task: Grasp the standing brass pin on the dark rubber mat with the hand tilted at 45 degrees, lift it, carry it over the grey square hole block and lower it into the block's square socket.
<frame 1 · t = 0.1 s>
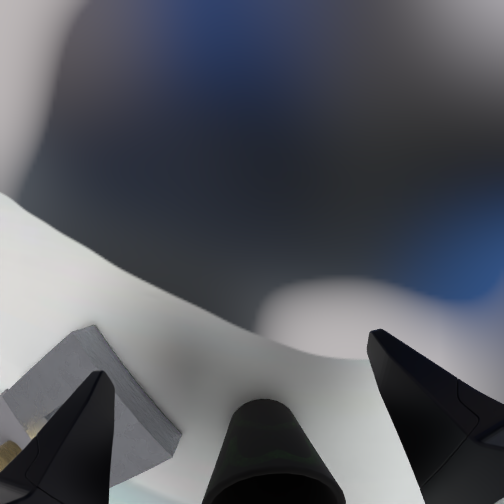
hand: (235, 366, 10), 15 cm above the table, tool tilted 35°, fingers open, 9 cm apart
cup: (262, 426, 24), on the table
pin: (15, 452, 22), resting on mat
mat: (22, 458, 22), on the table
grey square hole block: (93, 412, 23), on the table
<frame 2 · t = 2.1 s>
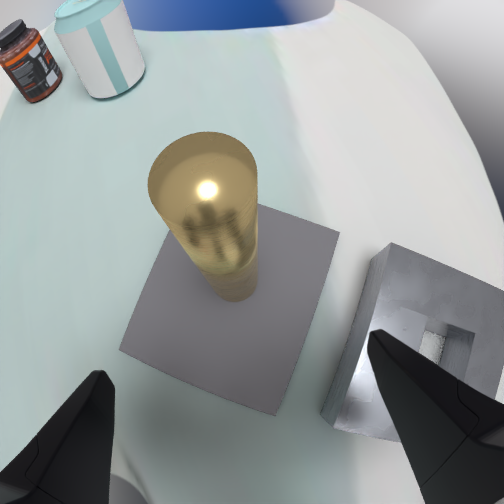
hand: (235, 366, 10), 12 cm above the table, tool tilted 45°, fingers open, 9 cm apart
can: (117, 81, 30), on the table
pin: (234, 279, 22), resting on mat
mat: (229, 293, 22), on the table
grey square hole block: (417, 357, 21), on the table
supplement bottle: (45, 88, 30), on the table
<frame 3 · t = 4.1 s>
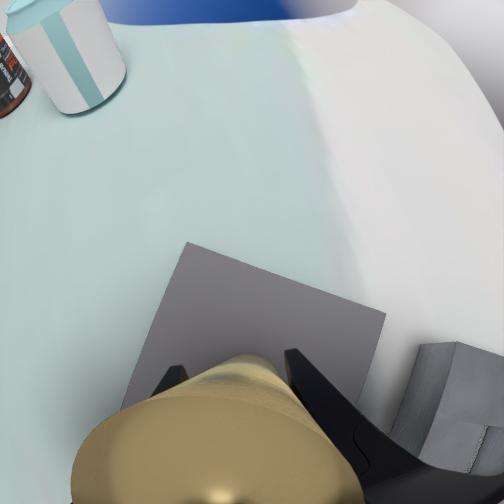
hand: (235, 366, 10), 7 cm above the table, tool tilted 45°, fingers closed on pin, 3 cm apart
can: (92, 90, 23), on the table
pin: (248, 382, 16), resting on mat, touching gripper
mat: (241, 398, 16), on the table
grey square hole block: (458, 449, 14), on the table
supplement bottle: (13, 99, 24), on the table
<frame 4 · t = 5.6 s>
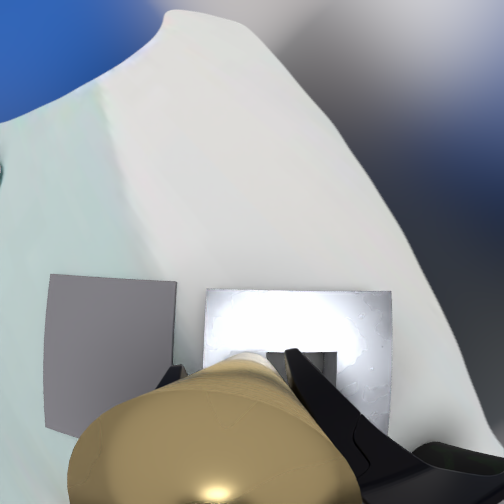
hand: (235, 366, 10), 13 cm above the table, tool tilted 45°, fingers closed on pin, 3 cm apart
cup: (424, 469, 19), on the table
pin: (247, 382, 16), point 7 cm above the table, touching gripper
mat: (102, 363, 22), on the table
grey square hole block: (293, 379, 22), on the table
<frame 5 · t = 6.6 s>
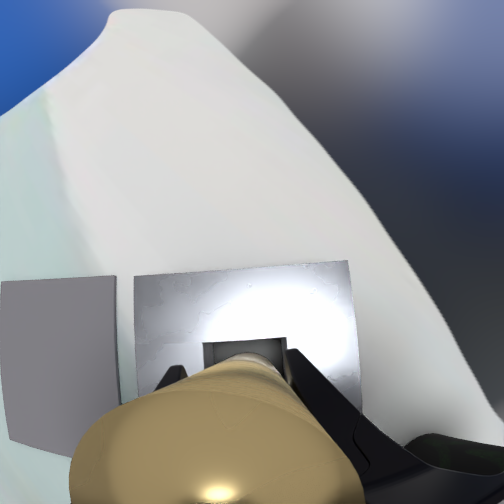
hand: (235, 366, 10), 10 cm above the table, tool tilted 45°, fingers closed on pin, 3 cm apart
cup: (420, 465, 17), on the table
pin: (247, 382, 16), point 4 cm above the table, touching gripper
mat: (52, 369, 19), on the table
grey square hole block: (249, 373, 19), on the table
when the fingers open (8 cm above the table, at t = 7.3 s): pin drops 2 cm, resting in grey square hole block.
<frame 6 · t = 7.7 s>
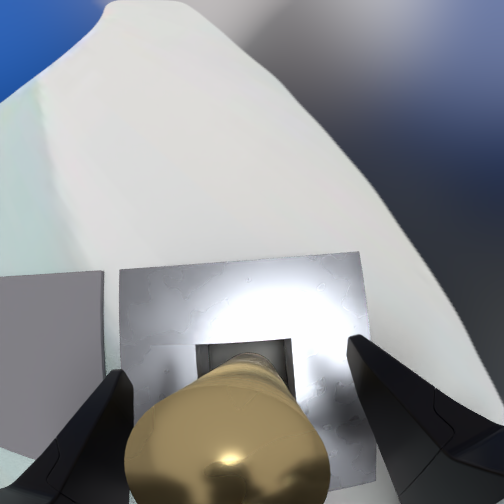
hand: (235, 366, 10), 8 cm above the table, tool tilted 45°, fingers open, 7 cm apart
pin: (248, 379, 17), resting in grey square hole block
mat: (36, 372, 17), on the table
grey square hole block: (248, 379, 17), on the table
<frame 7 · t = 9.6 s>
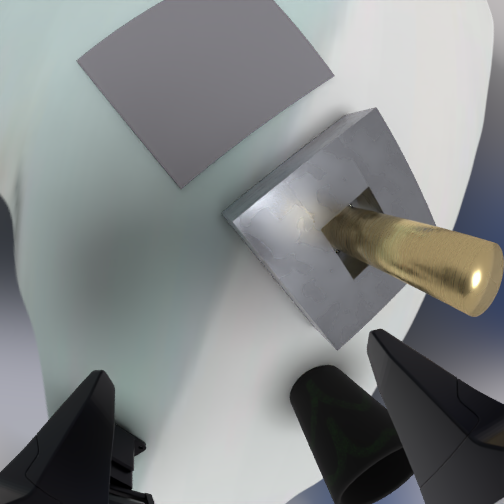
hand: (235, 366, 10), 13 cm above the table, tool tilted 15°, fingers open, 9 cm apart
cup: (316, 388, 27), on the table
pin: (332, 224, 23), resting in grey square hole block
mat: (209, 59, 18), on the table
grey square hole block: (332, 224, 23), on the table
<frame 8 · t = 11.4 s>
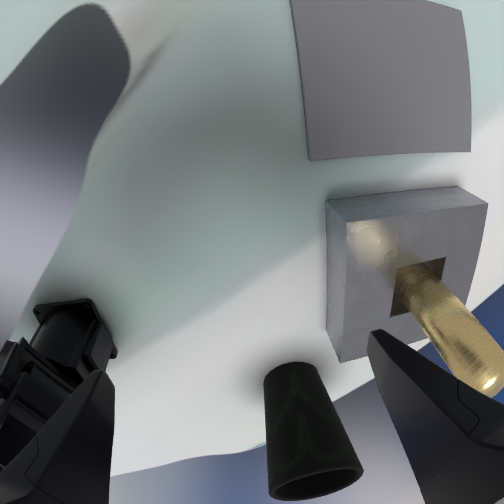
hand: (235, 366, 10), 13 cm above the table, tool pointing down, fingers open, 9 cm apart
cup: (290, 378, 30), on the table
pin: (394, 261, 24), resting in grey square hole block
mat: (396, 70, 17), on the table
grey square hole block: (394, 261, 24), on the table
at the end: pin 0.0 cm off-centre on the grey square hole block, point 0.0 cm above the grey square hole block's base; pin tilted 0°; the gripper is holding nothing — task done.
